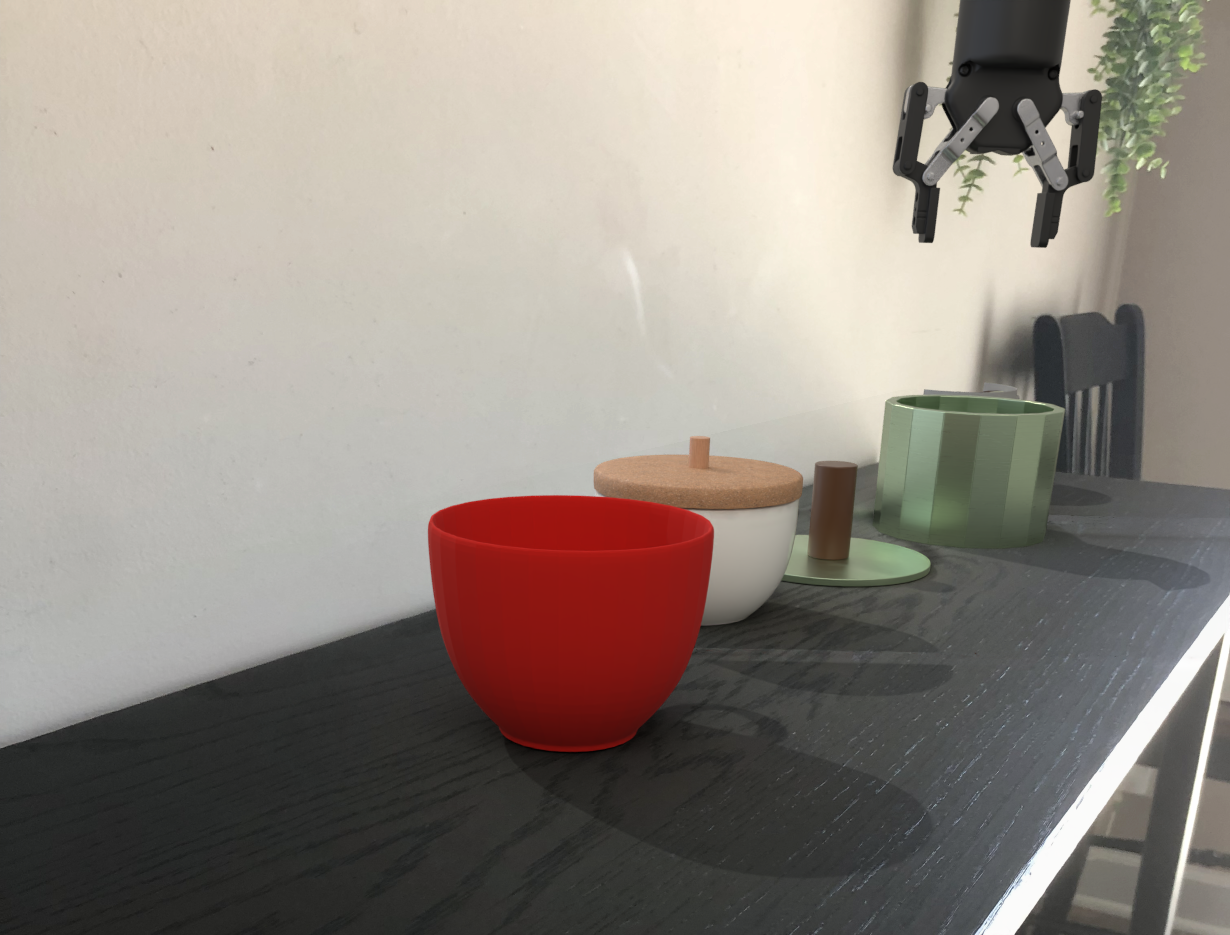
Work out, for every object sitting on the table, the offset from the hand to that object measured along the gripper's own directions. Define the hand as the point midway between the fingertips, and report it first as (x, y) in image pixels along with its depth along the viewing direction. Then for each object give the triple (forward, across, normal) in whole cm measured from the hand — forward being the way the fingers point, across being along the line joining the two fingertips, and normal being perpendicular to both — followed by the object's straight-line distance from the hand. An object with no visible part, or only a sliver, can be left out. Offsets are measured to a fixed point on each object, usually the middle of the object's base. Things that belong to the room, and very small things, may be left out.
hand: (982, 245), depth 99 cm
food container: (+22, +7, +19) cm, 30 cm away
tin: (+22, +1, +1) cm, 22 cm away
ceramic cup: (+22, -29, -45) cm, 58 cm away
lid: (+22, -12, -12) cm, 27 cm away
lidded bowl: (+22, -22, -26) cm, 41 cm away
